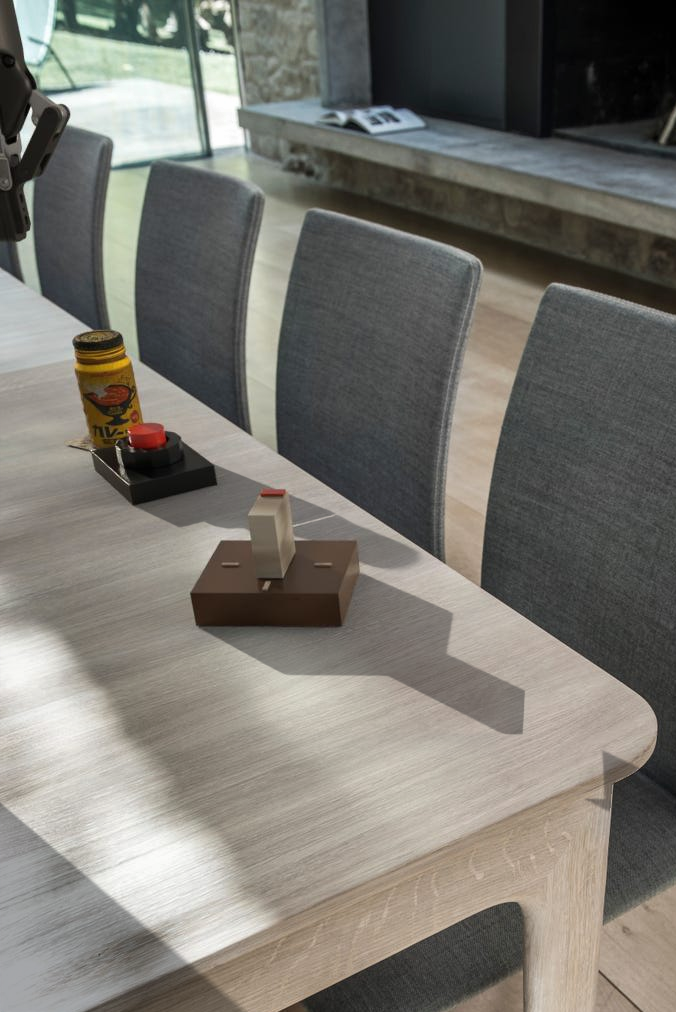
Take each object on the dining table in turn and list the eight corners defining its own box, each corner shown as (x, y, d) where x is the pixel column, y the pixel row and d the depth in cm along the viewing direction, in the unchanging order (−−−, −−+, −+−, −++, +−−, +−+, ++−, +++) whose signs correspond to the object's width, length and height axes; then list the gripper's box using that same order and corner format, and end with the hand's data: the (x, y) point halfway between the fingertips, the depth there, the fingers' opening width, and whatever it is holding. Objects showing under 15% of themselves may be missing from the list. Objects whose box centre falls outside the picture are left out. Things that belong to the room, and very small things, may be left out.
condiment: (117, 457, 126) (94, 347, 119) (64, 445, 130) (38, 337, 123) (164, 437, 131) (145, 330, 125) (112, 425, 135) (90, 321, 128)
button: (126, 443, 119) (122, 427, 118) (159, 436, 121) (156, 420, 120) (138, 453, 117) (134, 436, 116) (171, 446, 118) (168, 429, 117)
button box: (95, 470, 123) (86, 434, 121) (175, 452, 127) (168, 416, 125) (133, 506, 115) (125, 467, 112) (217, 485, 119) (211, 447, 116)
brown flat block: (195, 625, 93) (189, 591, 92) (225, 571, 102) (220, 538, 100) (341, 626, 93) (338, 591, 91) (360, 571, 101) (357, 538, 99)
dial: (283, 578, 93) (274, 512, 90) (256, 578, 94) (246, 512, 90) (295, 552, 97) (287, 488, 94) (270, 551, 98) (261, 487, 94)
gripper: (-165, -16, 79) (-90, 251, 88) (22, -22, 78) (78, 249, 88) (-112, -18, 85) (-47, 232, 95) (62, -23, 84) (110, 229, 94)
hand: (13, 239), depth 91 cm, fingers closed
